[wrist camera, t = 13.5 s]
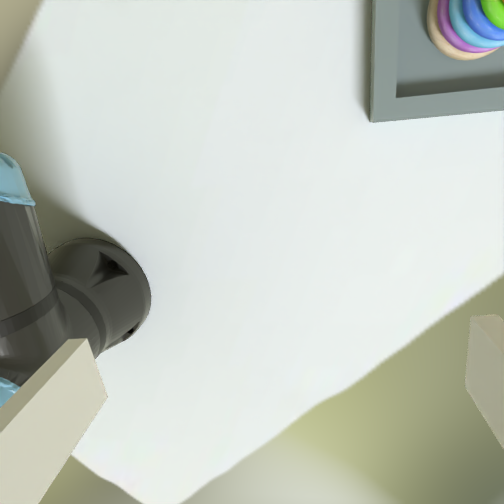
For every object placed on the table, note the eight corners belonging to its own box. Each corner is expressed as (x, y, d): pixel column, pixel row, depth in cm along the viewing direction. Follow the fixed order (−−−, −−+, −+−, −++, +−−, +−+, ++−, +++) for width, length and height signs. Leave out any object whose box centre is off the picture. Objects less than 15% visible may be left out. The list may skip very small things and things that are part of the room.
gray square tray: (369, 121, 37) (373, 122, 35) (373, -87, 31) (378, -101, 29) (556, 104, 34) (571, 103, 32) (600, -130, 28) (623, -149, 26)
